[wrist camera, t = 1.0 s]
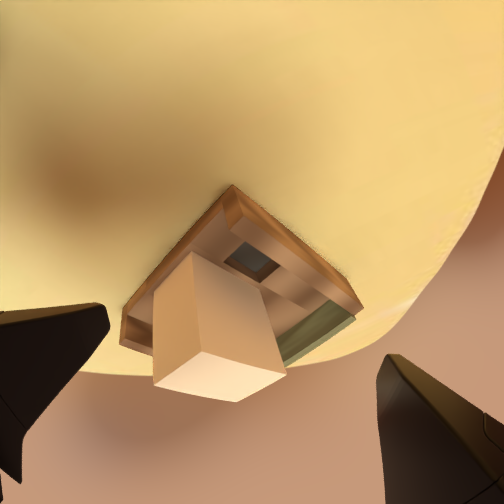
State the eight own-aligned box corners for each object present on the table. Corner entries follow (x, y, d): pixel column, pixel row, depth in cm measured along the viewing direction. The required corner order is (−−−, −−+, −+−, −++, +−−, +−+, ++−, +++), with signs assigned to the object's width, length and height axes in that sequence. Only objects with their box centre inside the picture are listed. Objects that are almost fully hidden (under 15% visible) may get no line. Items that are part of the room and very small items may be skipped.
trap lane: (122, 308, 23) (118, 349, 20) (232, 184, 18) (245, 220, 15) (244, 354, 32) (252, 386, 29) (346, 279, 27) (366, 312, 24)
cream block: (153, 291, 21) (153, 385, 15) (191, 250, 19) (201, 351, 13) (220, 321, 25) (236, 402, 19) (259, 289, 23) (286, 374, 17)
